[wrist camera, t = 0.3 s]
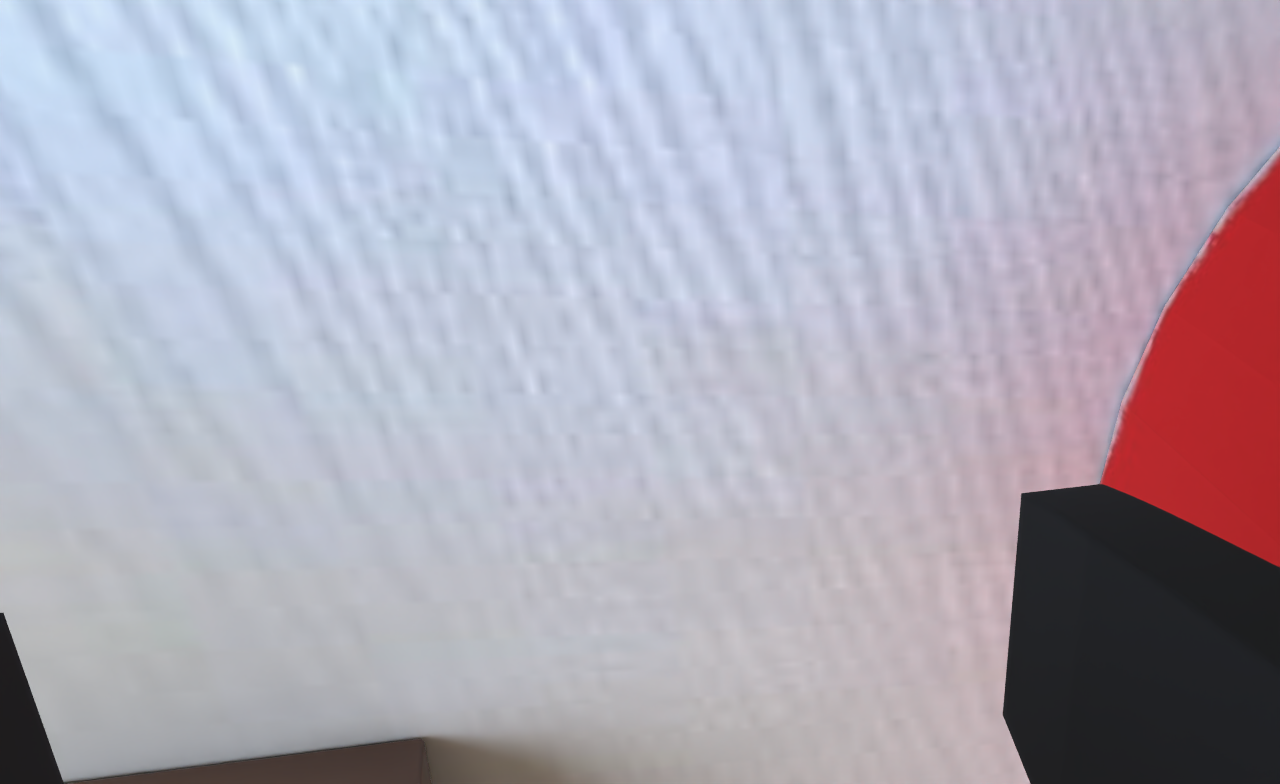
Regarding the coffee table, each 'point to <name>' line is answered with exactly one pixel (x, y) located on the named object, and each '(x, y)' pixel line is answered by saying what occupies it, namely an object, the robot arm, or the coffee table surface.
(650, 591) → the coffee table surface
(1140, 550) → the robot arm
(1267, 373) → the toy clock
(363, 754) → the button block
